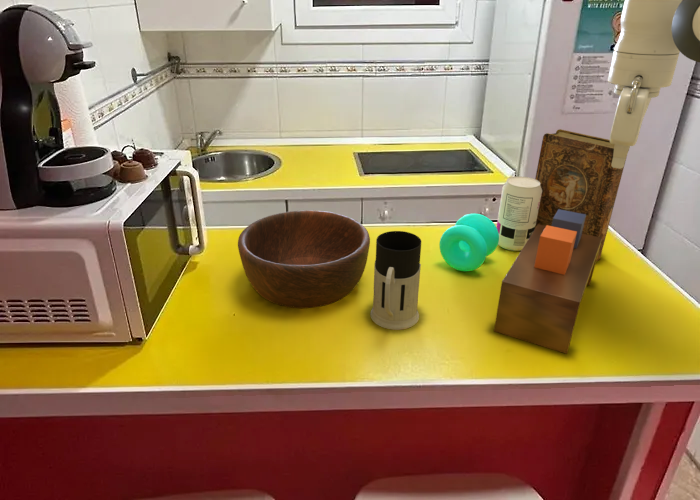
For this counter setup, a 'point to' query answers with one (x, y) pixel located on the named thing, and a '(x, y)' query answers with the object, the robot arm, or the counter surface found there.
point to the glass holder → (396, 280)
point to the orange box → (555, 249)
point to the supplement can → (518, 211)
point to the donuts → (469, 242)
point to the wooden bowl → (304, 257)
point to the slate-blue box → (570, 222)
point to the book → (578, 180)
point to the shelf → (545, 295)
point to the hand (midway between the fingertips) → (620, 159)
